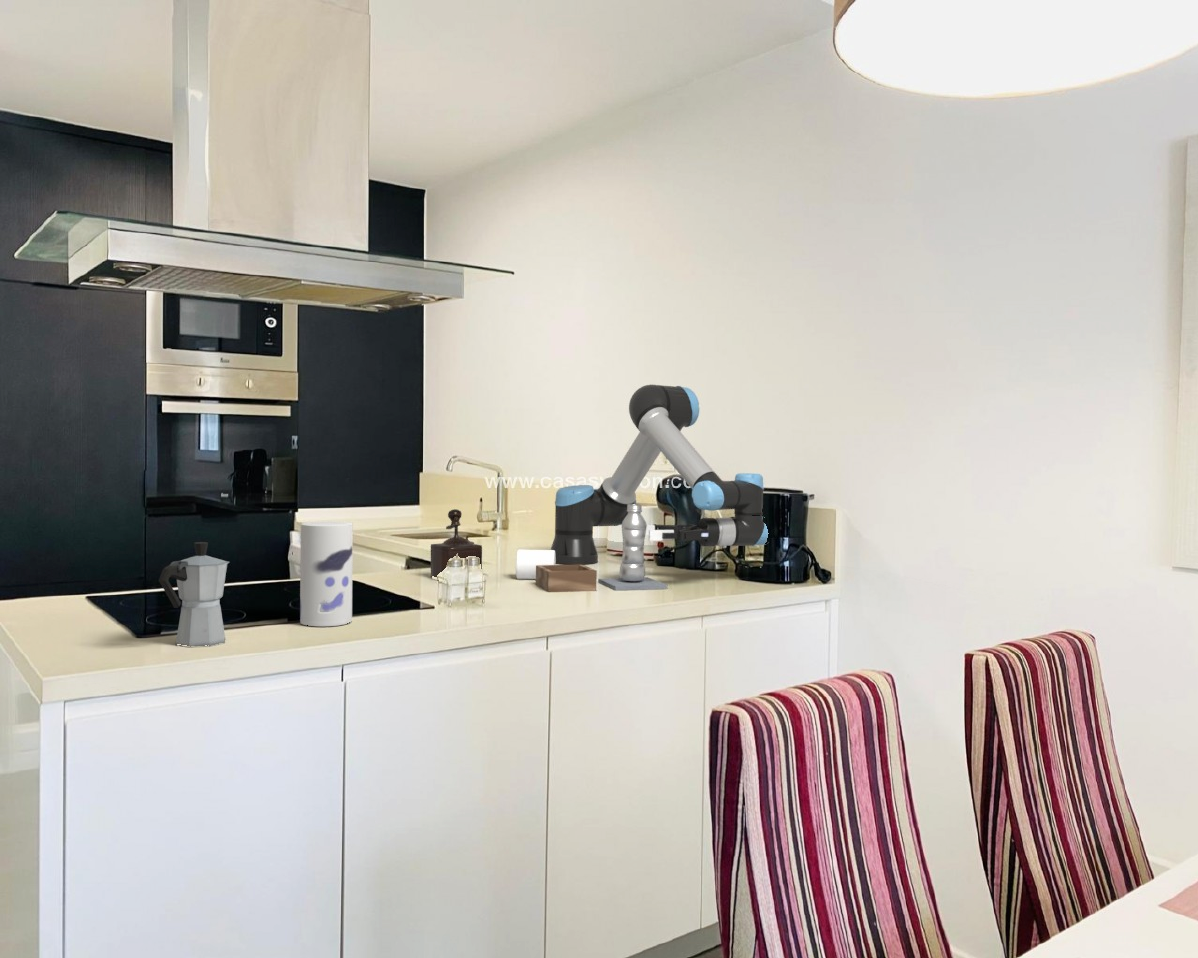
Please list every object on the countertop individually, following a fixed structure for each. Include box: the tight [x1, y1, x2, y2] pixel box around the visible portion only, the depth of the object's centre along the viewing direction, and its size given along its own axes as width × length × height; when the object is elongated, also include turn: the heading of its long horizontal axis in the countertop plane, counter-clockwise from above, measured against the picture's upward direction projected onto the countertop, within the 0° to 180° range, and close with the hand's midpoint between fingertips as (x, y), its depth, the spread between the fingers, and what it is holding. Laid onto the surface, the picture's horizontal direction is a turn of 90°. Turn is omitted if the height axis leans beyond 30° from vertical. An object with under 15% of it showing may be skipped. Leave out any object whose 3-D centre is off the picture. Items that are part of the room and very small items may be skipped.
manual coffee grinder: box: [430, 508, 483, 577], centre depth 259 cm, size 16×11×18 cm
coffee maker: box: [158, 541, 230, 647], centre depth 172 cm, size 15×9×18 cm, turn 154°
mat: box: [597, 576, 668, 591], centre depth 251 cm, size 14×14×1 cm
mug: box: [515, 548, 557, 581], centre depth 262 cm, size 12×10×8 cm
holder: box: [535, 564, 598, 593], centre depth 246 cm, size 12×12×5 cm
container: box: [299, 520, 354, 627], centre depth 194 cm, size 10×10×20 cm
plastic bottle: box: [619, 503, 648, 582], centre depth 251 cm, size 6×7×20 cm
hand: (639, 532), depth 251 cm, fingers open, 13 cm apart
